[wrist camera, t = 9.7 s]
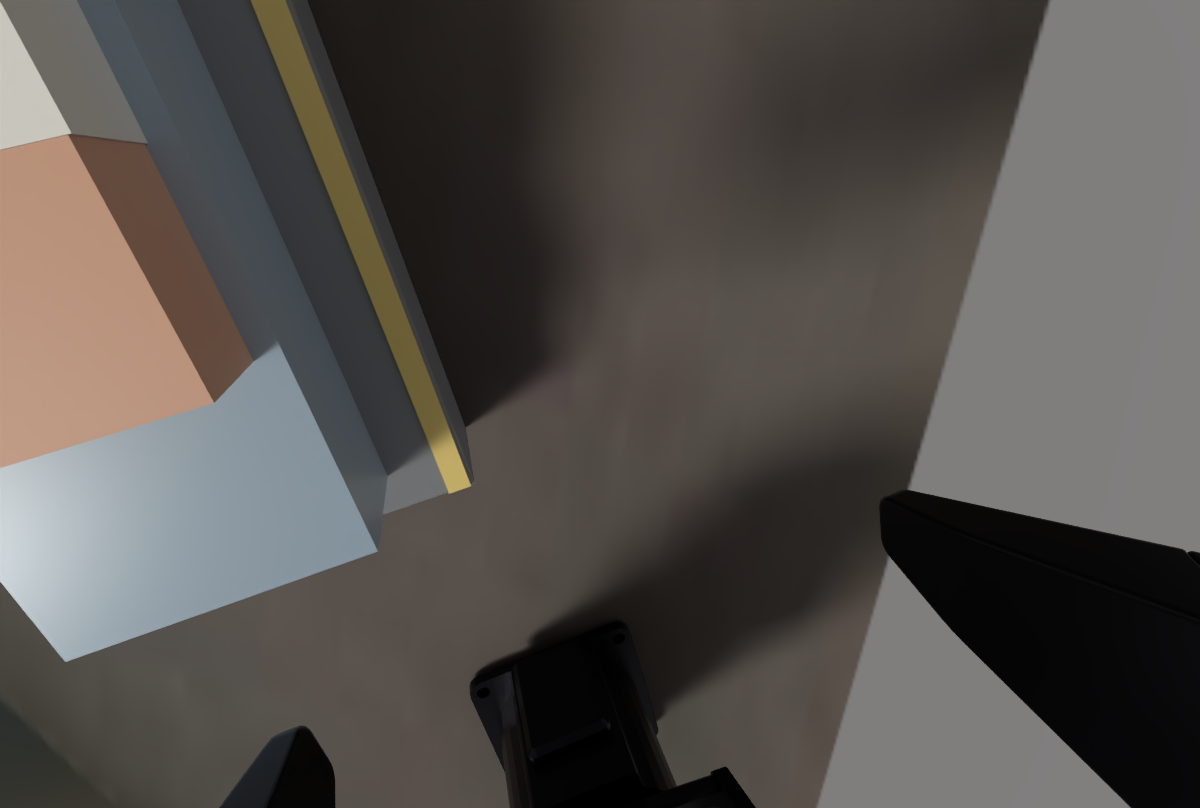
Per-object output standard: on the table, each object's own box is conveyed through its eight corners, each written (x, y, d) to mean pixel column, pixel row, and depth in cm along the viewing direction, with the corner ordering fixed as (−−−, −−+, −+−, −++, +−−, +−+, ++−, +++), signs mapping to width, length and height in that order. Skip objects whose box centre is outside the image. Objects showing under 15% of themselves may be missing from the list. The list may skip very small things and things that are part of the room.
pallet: (387, 476, 16) (377, 551, 12) (143, 558, 15) (65, 662, 12) (0, -399, 9) (-219, -698, 6) (-469, -350, 8) (-1010, -671, 5)
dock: (465, 428, 20) (474, 485, 16) (146, 534, 18) (76, 622, 15) (191, -314, 13) (95, -514, 9) (-365, -240, 11) (-748, -443, 8)
